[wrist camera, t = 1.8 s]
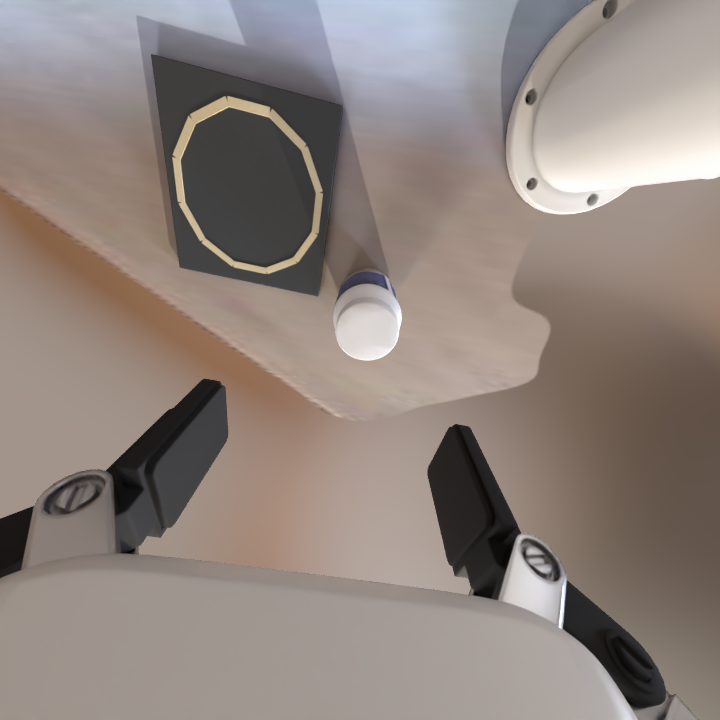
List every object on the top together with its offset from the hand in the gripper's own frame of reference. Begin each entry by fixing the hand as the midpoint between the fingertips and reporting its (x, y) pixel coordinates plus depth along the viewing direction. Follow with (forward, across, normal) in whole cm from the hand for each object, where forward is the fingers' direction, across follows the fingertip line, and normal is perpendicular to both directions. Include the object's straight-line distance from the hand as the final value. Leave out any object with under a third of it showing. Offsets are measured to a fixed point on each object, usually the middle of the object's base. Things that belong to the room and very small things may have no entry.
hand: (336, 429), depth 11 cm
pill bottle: (+19, -1, -1) cm, 19 cm away
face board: (+19, +11, -7) cm, 23 cm away
